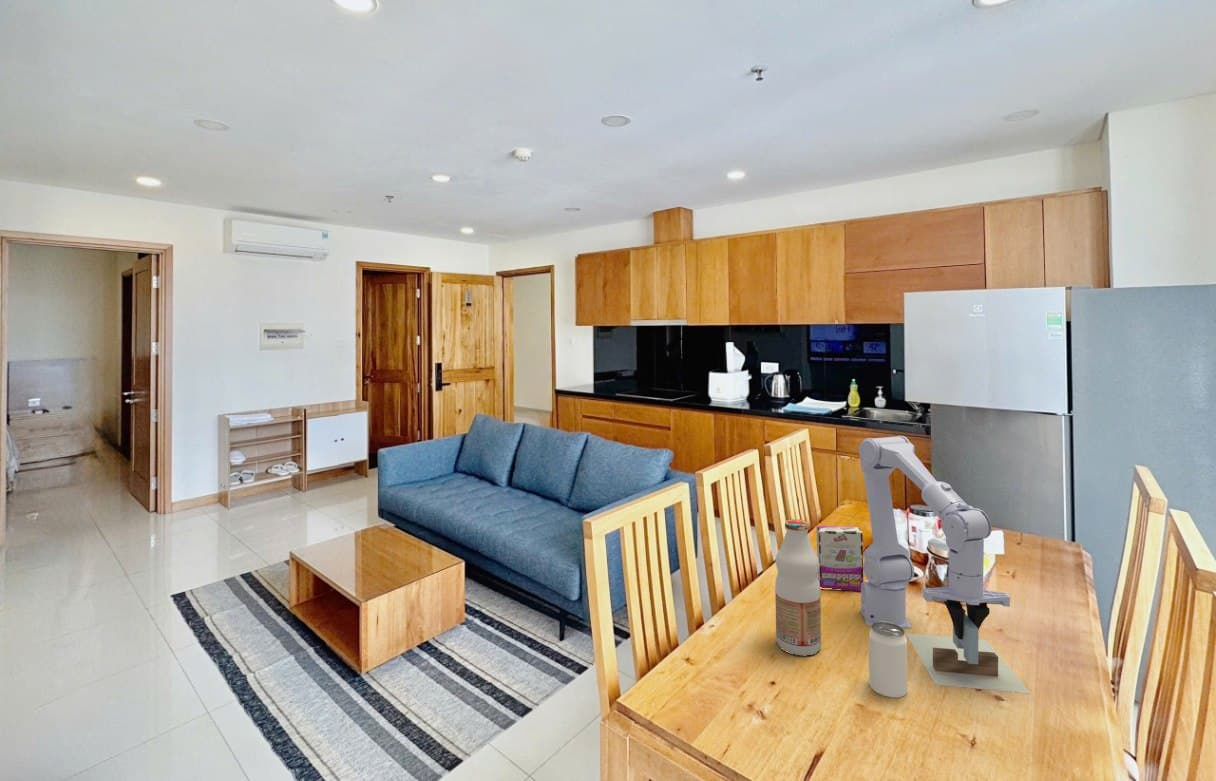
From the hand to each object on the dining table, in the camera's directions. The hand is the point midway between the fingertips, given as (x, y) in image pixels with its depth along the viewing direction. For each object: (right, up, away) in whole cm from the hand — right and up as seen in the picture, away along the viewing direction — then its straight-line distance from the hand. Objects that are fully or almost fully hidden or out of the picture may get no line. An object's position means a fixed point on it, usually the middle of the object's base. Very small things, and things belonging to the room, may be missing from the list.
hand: (965, 637), depth 108 cm
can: (-17, -9, -3) cm, 19 cm away
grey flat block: (0, -3, 0) cm, 3 cm away
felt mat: (+2, -7, +4) cm, 8 cm away
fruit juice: (-29, -8, +13) cm, 32 cm away
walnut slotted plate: (0, -7, +1) cm, 7 cm away
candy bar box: (-8, -5, +40) cm, 41 cm away
